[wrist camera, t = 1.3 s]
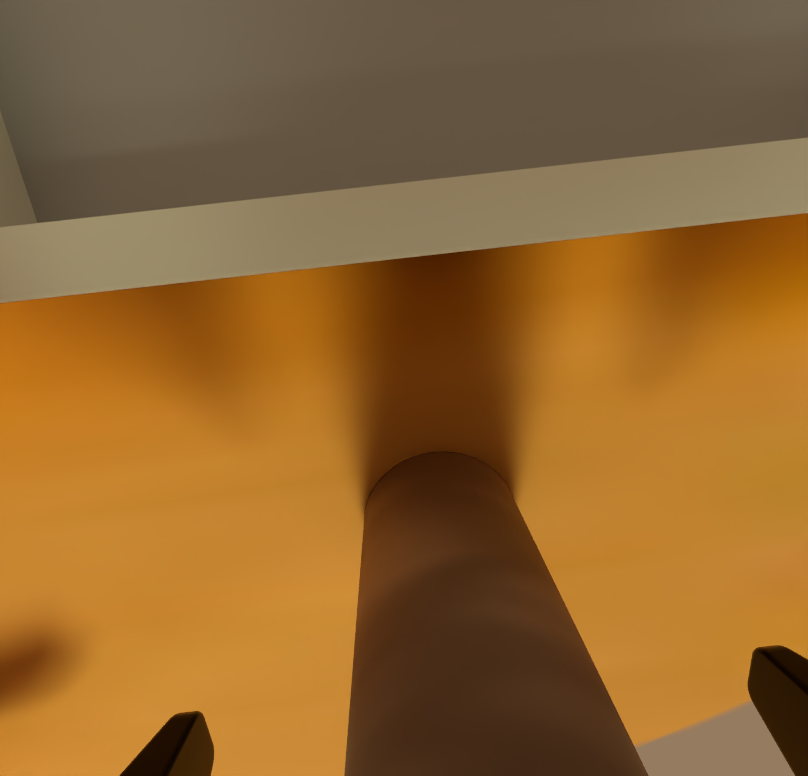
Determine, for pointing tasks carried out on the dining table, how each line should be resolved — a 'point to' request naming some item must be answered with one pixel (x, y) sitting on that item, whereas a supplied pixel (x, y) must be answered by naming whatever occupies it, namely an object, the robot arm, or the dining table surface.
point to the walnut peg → (469, 640)
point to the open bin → (380, 130)
